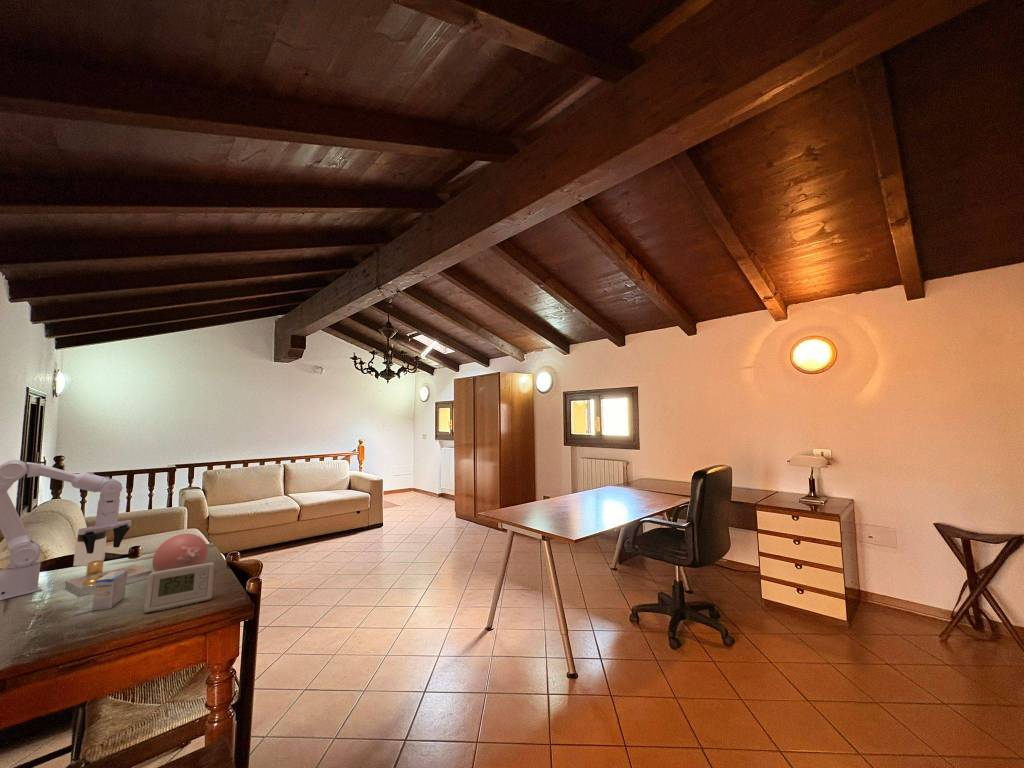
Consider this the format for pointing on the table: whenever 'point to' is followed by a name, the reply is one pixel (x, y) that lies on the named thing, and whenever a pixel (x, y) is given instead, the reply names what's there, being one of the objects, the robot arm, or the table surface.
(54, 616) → the table surface
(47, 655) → the table surface
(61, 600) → the table surface
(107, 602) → the medicine box
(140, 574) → the jig
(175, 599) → the digital clock
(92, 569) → the bushing
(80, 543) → the jar
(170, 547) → the pink oval ball
